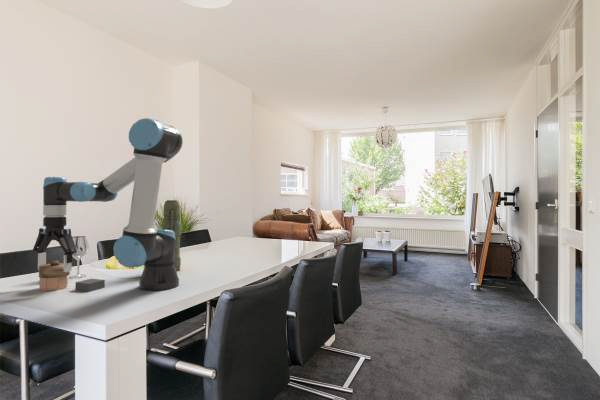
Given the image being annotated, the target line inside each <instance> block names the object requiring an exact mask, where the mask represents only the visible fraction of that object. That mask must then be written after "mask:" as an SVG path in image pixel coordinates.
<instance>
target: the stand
mask: <svg viewBox="0 0 600 400" xmlns="http://www.w3.org/2000/svg"><path fill="white" fill-rule="evenodd" d="M105 282H106V279H98V278H87V279H84V280H80V281H75V285H74V286H75V291H79V290H80V292H87V293H88V292H93V290H94V291H97V290H100V289H104V288H105V286H106V285H105V284H106V283H105Z"/></svg>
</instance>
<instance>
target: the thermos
mask: <svg viewBox="0 0 600 400" xmlns="http://www.w3.org/2000/svg"><path fill="white" fill-rule="evenodd" d="M180 216H181V206H180V202H179V200H176V199H175V200H171V199H169V200H168V199H167V200H166V201H164V205H163V221H162V224H161V230H172V231H174V233H175V239H176V240H175V269H176V272H177V271H178V272H180V271H181V265H182V264H181V263H182V261H181V260H182V259H181V255H180V254H181V253H180V251H181V250H180V249H181V248H180V246H181V244H180V243H181V235H182V223H181V221H180V220H181V219H180ZM178 272H177V273H178Z"/></svg>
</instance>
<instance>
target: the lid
mask: <svg viewBox="0 0 600 400" xmlns="http://www.w3.org/2000/svg"><path fill="white" fill-rule="evenodd" d="M70 272H71V271H68V272H64V262H60V261H59V260H50V263H46V264H45V265H41V266H39V270H38V278H39V279H40V278H57V277H63V276H67V275H68V276H69V275H70V274H71V273H70Z"/></svg>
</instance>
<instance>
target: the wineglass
mask: <svg viewBox="0 0 600 400" xmlns="http://www.w3.org/2000/svg"><path fill="white" fill-rule="evenodd" d="M72 238H73V241H74V244H75V246H76V249H77V252H76V253H73V255H72V258H73V259H75V260H76V274H75V275H74V274H73V275H70V276H69V278H70V279H80V278H79V277H81V278H85V277H87V274H80V261H81V259H82V258H83V257H85V256H86V255H87V254H88V252H89V249H90V246H89V242H88V239H87V236H85V235H84V236H83V235H77V236H72ZM72 250H73V249H72Z"/></svg>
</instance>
